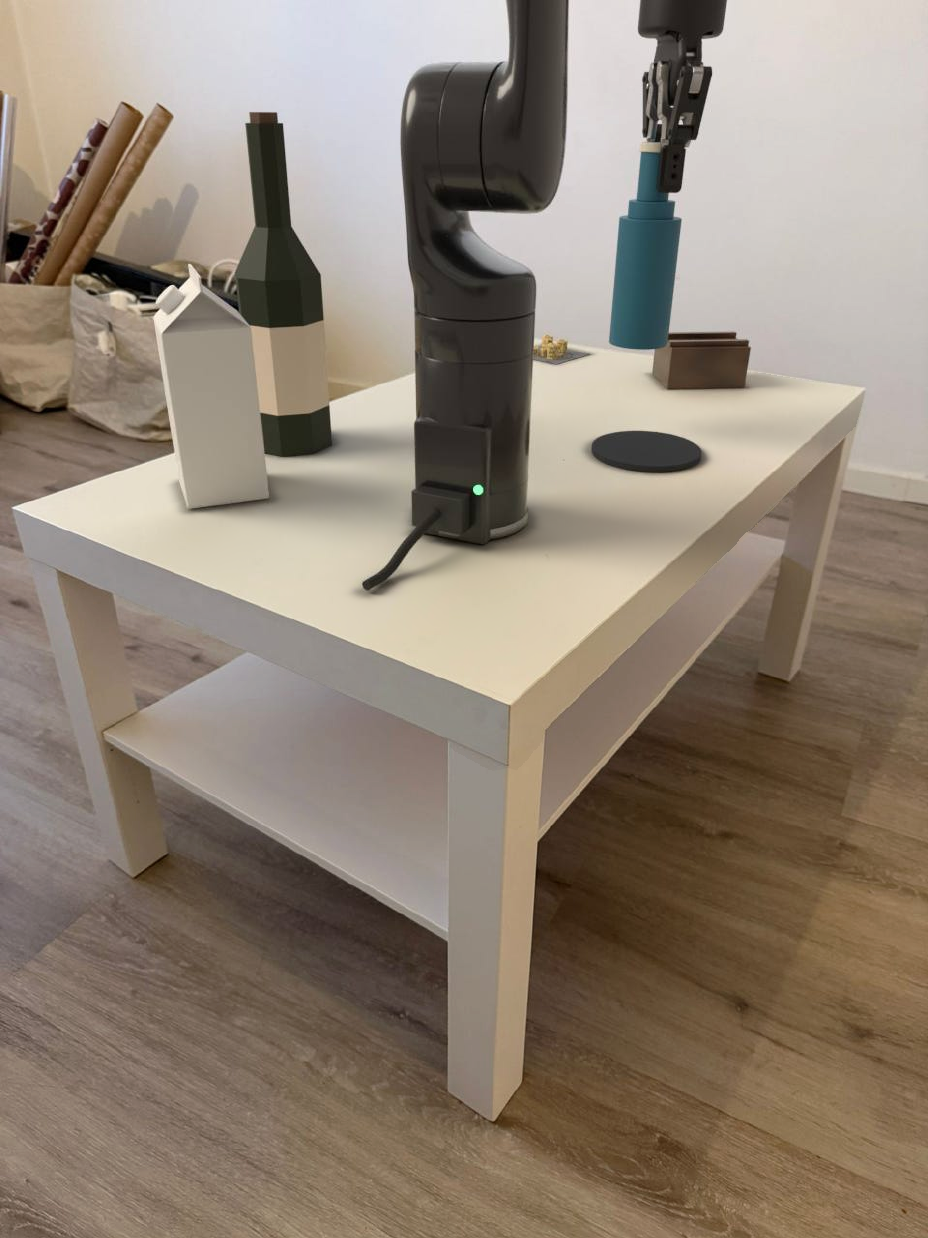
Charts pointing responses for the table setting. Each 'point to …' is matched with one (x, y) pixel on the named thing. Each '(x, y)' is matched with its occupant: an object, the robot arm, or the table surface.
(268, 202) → the wine bottle
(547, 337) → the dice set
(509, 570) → the table surface
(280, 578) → the table surface
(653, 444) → the coaster
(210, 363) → the milk carton
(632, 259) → the bottle
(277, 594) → the table surface
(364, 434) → the table surface
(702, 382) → the cradle
